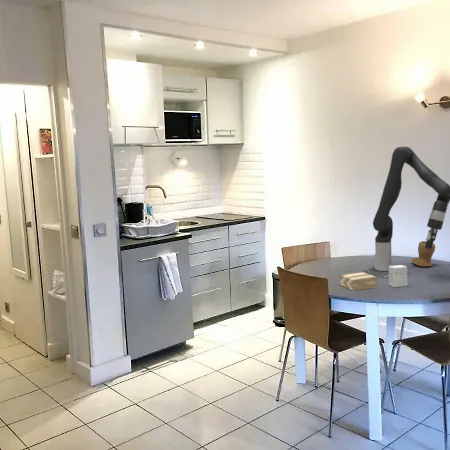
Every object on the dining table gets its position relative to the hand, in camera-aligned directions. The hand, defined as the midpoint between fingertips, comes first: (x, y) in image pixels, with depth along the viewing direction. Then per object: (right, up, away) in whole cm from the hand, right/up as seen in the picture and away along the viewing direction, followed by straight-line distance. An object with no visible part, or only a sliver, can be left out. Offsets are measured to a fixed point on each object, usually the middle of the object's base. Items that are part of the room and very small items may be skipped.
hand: (427, 248), depth 276 cm
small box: (-18, -20, -6) cm, 28 cm away
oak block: (-39, -21, -4) cm, 44 cm away
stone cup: (+13, -12, +39) cm, 43 cm away
